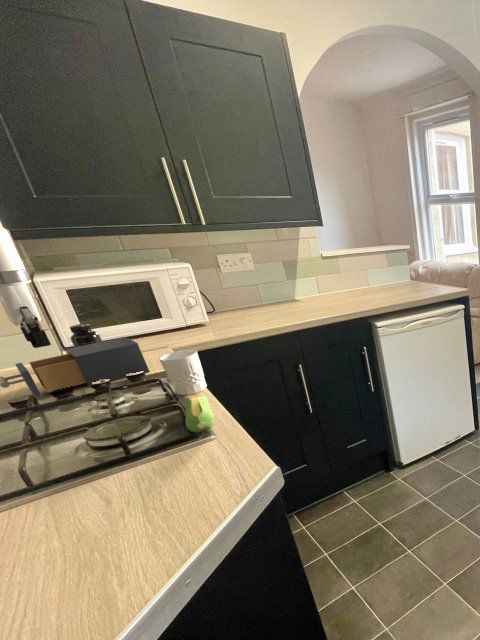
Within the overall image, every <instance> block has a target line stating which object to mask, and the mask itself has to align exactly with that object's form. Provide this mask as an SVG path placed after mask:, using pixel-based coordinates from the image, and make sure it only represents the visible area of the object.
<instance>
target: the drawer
mask: <svg viewBox="0 0 480 640" xmlns="http://www.w3.org/2000/svg"><path fill="white" fill-rule="evenodd" d="M28 363H29V365H30V367H31V369H32V370H33V372H34V374H35V376H36V378H37V379H38V381H39V384H40V385H41V386H42V388H43V389H44V390H45V391H46V392H47V393H53V392H54V391H53V390H57V389H60V390H62V389H61V388H64V389H66V388H65V387H68V388H71V387H70V386H72V387H76V386H79V385H80V386H81V385H83V384H86V383H87V381H86V379H85V377H84V375H83V373H82V371H81V369H80V367H79V365H78V363H77V361H76V359H75V358H74V357H73V356H71V355H70V354H67V353H65V354H61V355H56V356H51V357H47V358H42V359H37V360H32V361H29V362H28ZM14 365H15V367H16V368H17V370H18V372H19V374H15V375H11V376H6V377H5V376H0V387H1V388H2V389H6V388H9V387H10V386H11V385H15V384H20V383H23V382H24V383H25V385H26V386H27V388H28V389H29V391H30V392H31V394H32V396H34V395H35V396H36V397H35V396H34V397H35V399H36V398H40V397H43V395H42V393H41V391H40V389H39V387H38V386H37V384H36V382H35V380H34V379H33V377H32V375H31V373H30V371H29V370H28V369H27V367H26V366H25V365H24V364H23V363H22V362H18V363H15V364H14ZM17 378H21V379H17ZM14 379H17V380H14ZM9 380H13V381H9ZM52 391H53V392H52ZM57 391H58V390H57Z"/></svg>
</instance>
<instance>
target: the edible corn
mask: <svg viewBox="0 0 480 640" xmlns="http://www.w3.org/2000/svg"><path fill="white" fill-rule="evenodd" d="M184 405H185V417H184V418H185V419H184V420H185V426H186V429H187V430H188V431H189V432H191V433H203V432H205V431H207V430H210V429H211V428H213V427H214V421H215V415H214V411H213V410H212V408H211V405H210V403H209V400H208V397H207V396H206V395H202V396H201V397H200V396H194V397H191V398H189V397H186V398H185V399H184ZM202 431H203V432H202Z"/></svg>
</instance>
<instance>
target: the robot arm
mask: <svg viewBox="0 0 480 640" xmlns="http://www.w3.org/2000/svg"><path fill="white" fill-rule="evenodd" d="M30 283H32V280H31V278H30V275H29V274H28V271H27V269H26V268H25V265H24V264H23V261H22V259H21V257H20V254H19V253H18V251H17V249H16V246H15V244H14V242H13V240H12V238H11V236H10V234H9V232H8V231H7V229H6V228H4V227H3V226H1V225H0V303H1V305H2V307H3V309H4V311H5V313H6V315H7V317H8V319H9V321H10V323H11V324H12V325H14V326H16V327H17V326H18V327H19V326H20V327H19V328H20V330H21V332H22V334H23V336H24V339H25V340H26V342H29V343H30V345H31V346H32V348H34V349H38V348H44V347H49V346H51V344H52V343H51V341H50V340H49V337H48V335H47V333H46V331H45V330H44V329H43V328H42V325H41V324H40V322H41V321H42V318H41V316H40V313H39V310H38V308H37V306H36V304H35V301H34V299H33V296H32V295H31V293H30V290H29V288H28V286H27V284H30Z"/></svg>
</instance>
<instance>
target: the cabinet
mask: <svg viewBox="0 0 480 640" xmlns="http://www.w3.org/2000/svg"><path fill="white" fill-rule="evenodd" d="M65 352H66V354H70V355H71V356H73V357H74V358H75V359H76V361H77V363H78V365H79V367H80V369H81V371H82V373H83V375H84V377H85V379H86V381H87V383H85V384H86V386H88V387H89V388H92V387H91V384H92V382H96V381H99V380H100V379H110V381H111V382H116V381H120V380H123V379H127V378H126V374H129V373H136V372H140V371H144V372H145V373H144V374H146V373H149V372H150V369H149V367H148V364H147V362H146V360H145V357H144V355H143V353H142V350H141V348H140V346H139V343H138V342H137V341H135V340H132V339H130V338H128V337H126V336H122V337H117V338H113V339H107V340H104V341H103V340H102V342H98V343H93V344H88V345H84V346H79V347H74V346H73V347H71V348H66V349H65ZM111 382H110V383H111Z"/></svg>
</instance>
